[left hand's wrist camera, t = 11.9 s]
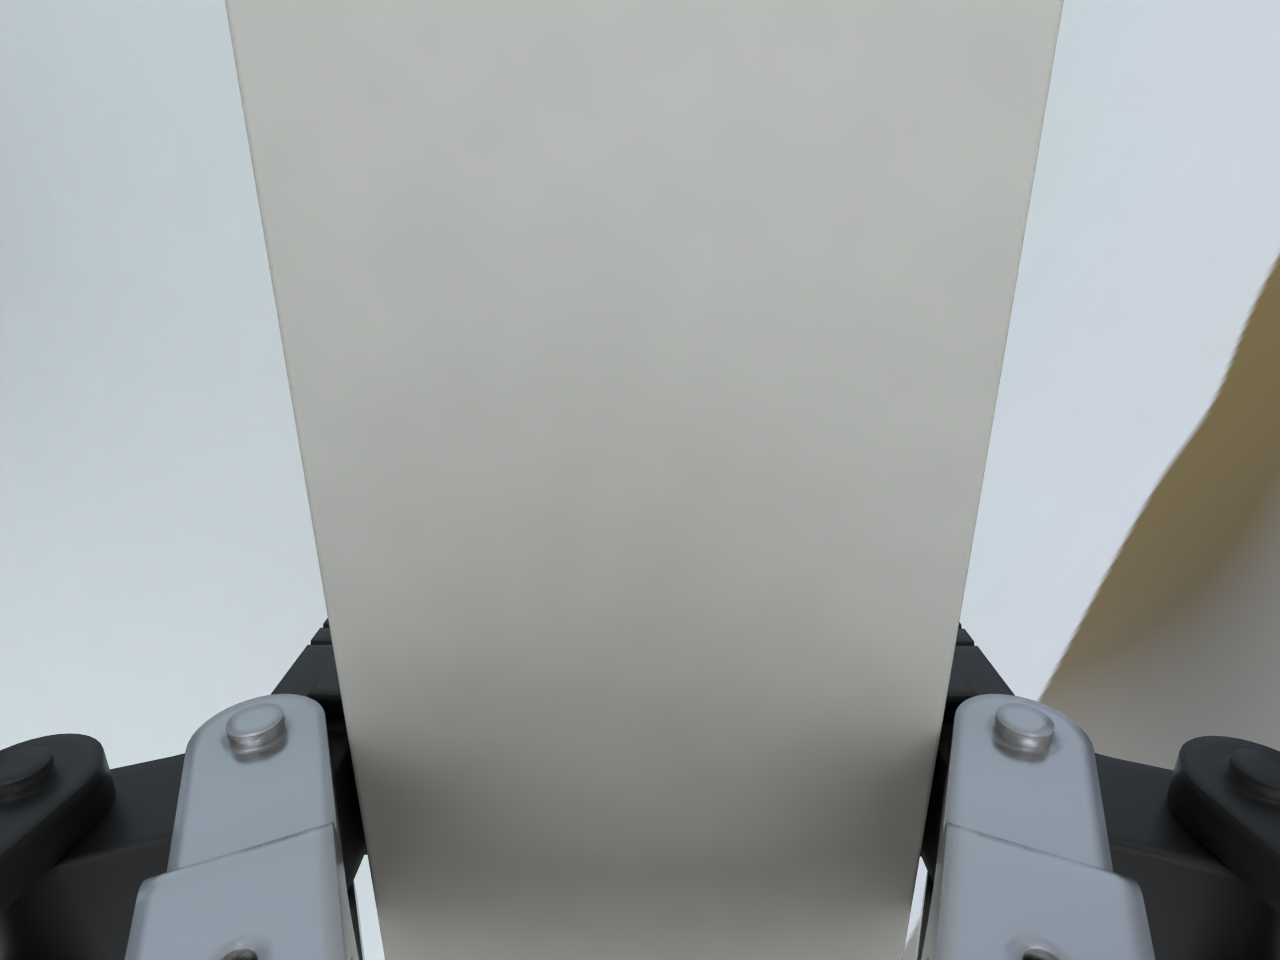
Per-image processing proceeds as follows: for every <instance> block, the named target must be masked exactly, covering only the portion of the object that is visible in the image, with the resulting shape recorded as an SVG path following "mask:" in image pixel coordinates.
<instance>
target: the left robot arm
mask: <svg viewBox="0 0 1280 960" xmlns="http://www.w3.org/2000/svg"><path fill="white" fill-rule="evenodd" d="M364 855H368V853H367V847H366V841H365V835H364V829H363V823H362V818H361V812H360V806H359V800H358V794H357V788H356V782H355V776H354V770H353V764H352V758H351V752H350V746H349V740H348V734H347V728H346V722H345V716H344V710H343V704H342V698H341V692H340V686H339V680H338V674H337V668H336V662H335V656H334V650H333V644H332V638H331V632H330V626H329V620H328V618H327V620H326V621H325V622H324V624H323V628H320V629H319V630H318V632H317V633H316V634H315V636H314V637H313V638H312V640H311V645H307V646H306V648H305V649H304V651H303V652H302V653H301V655H300V656H299V657H298V659H297V660H296V661H295V663H294V664H293V665H292V667H291V668H290V669H289V671H288V672H287V673H286V675H285V676H284V677H283V679H282V680H281V681H280V683H279V684H278V685H277V687H276V688H275V689H274V691H273V692H272V693H271V695H267V696H262V697H257V698H254V699H250V700H247V701H244V702H241V703H239V704H236V705H234V706H232V707H229V708H227V709H225V710H223V711H222V712H220V713H218V714H216V715H215V716H213V717H212V718H211V719H209V720H208V721H206V722H205V723H204V724H203V725H202V726H201V727H200V728H199V729H198V730H197V731H196V732H195V733H194V734H193V736H192V737H191V739H190V741H189V742H188V745H187V748H186V753H185V754H181V755H176V756H172V757H168V758H163V759H158V760H153V761H149V762H144V763H139V764H134V765H129V766H125V767H120V768H115V769H109V766H108V763H107V759H106V756H105V753H104V750H103V747H102V745H101V743H100V742H98V741H97V740H96V739H94V738H92V737H90V736H86V735H81V734H57V735H50V736H44V737H40V738H36V739H31V740H28V741H25V742H22V743H19V744H16V745H13V746H11V747H8V748H5V749H3V750H1V751H0V960H365V958H364V950H363V942H362V934H361V926H360V917H359V909H358V901H357V894H356V888H355V883H354V878H355V875H356V873H357V871H358V868H359V866H360V864H361V861H362V859H363V856H364ZM920 856H922V859H923V861H924V863H925V866H926V868H927V870H928V871H927V877H926V882H925V888H924V894H923V901H922V909H921V917H920V925H919V934H918V942H917V950H916V958H915V960H1280V752H1279V751H1277V750H1274V749H1272V748H1269V747H1267V746H1263V745H1260V744H1257V743H1254V742H1250V741H1246V740H1242V739H1237V738H1231V737H1223V736H1203V737H1198V738H1194V739H1192V740H1189V741H1187V742H1186V743H1185V744H1184V745H1183V746H1182V748H1181V750H1180V752H1179V755H1178V758H1177V762H1176V765H1175V768H1174V771H1173V770H1169V769H1164V768H1159V767H1154V766H1149V765H1145V764H1140V763H1135V762H1130V761H1125V760H1121V759H1116V758H1112V757H1108V756H1104V755H1100V754H1097V753H1094V748H1093V745H1092V742H1091V741H1090V739H1089V737H1088V736H1087V734H1086V733H1085V732H1084V731H1083V730H1082V729H1081V728H1080V727H1079V726H1078V725H1077V724H1076V723H1075V722H1074V721H1072V720H1071V719H1069V718H1068V717H1067V716H1065V715H1064V714H1062V713H1060V712H1058V711H1057V710H1055V709H1053V708H1051V707H1048V706H1046V705H1044V704H1041V703H1039V702H1036V701H1033V700H1030V699H1026V698H1023V697H1018V696H1015V695H1014V694H1013V692H1012V691H1011V690H1010V688H1009V687H1008V686H1007V685H1006V683H1005V682H1004V681H1003V679H1002V678H1001V677H1000V675H999V674H998V673H997V671H996V670H995V669H994V667H993V666H992V665H991V663H990V662H989V661H988V659H987V658H986V657H985V655H984V654H983V653H982V651H981V650H980V649H979V648H978V646H974V641H973V640H972V638H971V637H970V636H969V634H968V633H967V632H966V630H965V629H962V628H961V624H960V622H959V626H958V632H957V638H956V644H955V650H954V656H953V662H952V668H951V674H950V679H949V685H948V691H947V697H946V703H945V709H944V715H943V721H942V727H941V733H940V739H939V745H938V751H937V757H936V763H935V769H934V775H933V781H932V787H931V793H930V799H929V804H928V810H927V816H926V822H925V828H924V834H923V840H922V846H921V852H920Z"/></svg>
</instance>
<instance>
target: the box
mask: <svg viewBox="0 0 1280 960" xmlns="http://www.w3.org/2000/svg"><path fill="white" fill-rule="evenodd" d="M1063 1H1064V0H225V3H226V9H227V15H228V21H229V27H230V33H231V39H232V45H233V51H234V57H235V63H236V69H237V75H238V81H239V87H240V93H241V99H242V105H243V111H244V117H245V123H246V129H247V135H248V141H249V147H250V153H251V159H252V165H253V171H254V177H255V183H256V189H257V195H258V201H259V207H260V213H261V219H262V225H263V231H264V237H265V243H266V249H267V255H268V261H269V267H270V273H271V279H272V285H273V291H274V297H275V303H276V309H277V315H278V321H279V327H280V333H281V339H282V345H283V351H284V357H285V363H286V369H287V375H288V381H289V386H290V392H291V398H292V404H293V410H294V416H295V422H296V428H297V434H298V440H299V446H300V452H301V458H302V464H303V470H304V476H305V482H306V488H307V494H308V500H309V506H310V512H311V518H312V524H313V530H314V536H315V542H316V548H317V554H318V560H319V566H320V572H321V578H322V584H323V590H324V596H325V602H326V608H327V614H328V620H329V626H330V632H331V638H332V644H333V650H334V656H335V662H336V668H337V674H338V680H339V686H340V692H341V698H342V704H343V710H344V716H345V722H346V728H347V734H348V740H349V746H350V752H351V758H352V764H353V770H354V776H355V782H356V788H357V794H358V800H359V806H360V812H361V818H362V823H363V829H364V835H365V841H366V847H367V853H368V859H369V865H370V871H371V877H372V883H373V889H374V895H375V901H376V907H377V913H378V919H379V925H380V931H381V937H382V943H383V949H384V955H385V960H902V959H903V953H904V947H905V941H906V935H907V929H908V924H909V918H910V912H911V906H912V900H913V894H914V888H915V882H916V876H917V870H918V864H919V858H920V852H921V846H922V840H923V834H924V828H925V822H926V816H927V810H928V804H929V799H930V793H931V787H932V781H933V775H934V769H935V763H936V757H937V751H938V745H939V739H940V733H941V727H942V721H943V715H944V709H945V703H946V697H947V691H948V685H949V679H950V674H951V668H952V662H953V656H954V650H955V644H956V638H957V632H958V626H959V620H960V614H961V608H962V602H963V596H964V590H965V584H966V578H967V572H968V566H969V560H970V555H971V549H972V543H973V537H974V531H975V525H976V519H977V513H978V507H979V501H980V495H981V489H982V483H983V477H984V471H985V465H986V459H987V453H988V447H989V441H990V435H991V430H992V424H993V418H994V412H995V406H996V400H997V394H998V388H999V382H1000V376H1001V370H1002V364H1003V358H1004V352H1005V346H1006V340H1007V334H1008V328H1009V322H1010V316H1011V310H1012V305H1013V299H1014V293H1015V287H1016V281H1017V275H1018V269H1019V263H1020V257H1021V251H1022V245H1023V239H1024V233H1025V227H1026V221H1027V215H1028V209H1029V203H1030V197H1031V191H1032V186H1033V180H1034V174H1035V168H1036V162H1037V156H1038V150H1039V144H1040V138H1041V132H1042V126H1043V120H1044V114H1045V108H1046V102H1047V96H1048V90H1049V84H1050V78H1051V72H1052V66H1053V61H1054V55H1055V49H1056V43H1057V37H1058V31H1059V25H1060V19H1061V13H1062V7H1063Z"/></svg>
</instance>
